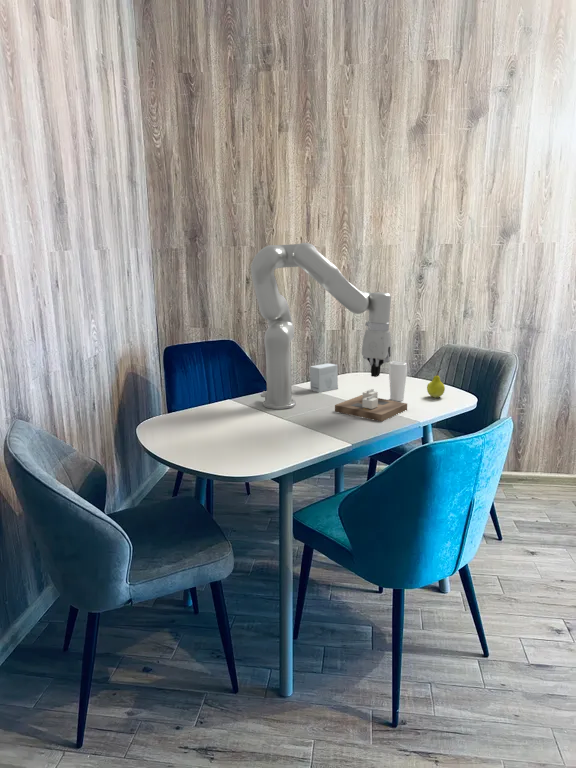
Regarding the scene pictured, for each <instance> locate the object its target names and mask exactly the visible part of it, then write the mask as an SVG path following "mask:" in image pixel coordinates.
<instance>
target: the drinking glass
mask: <svg viewBox="0 0 576 768" xmlns="http://www.w3.org/2000/svg"><path fill="white" fill-rule="evenodd" d="M388 372H389V373H388V375H389V376H388V378H389V379H388V380H389V400H391V401H396V402H402V401H404V399H405V392H406V391H405V389H406V383H407V374H408V373H407V372H408V364H407V362H406V361H400V360H394V361H390V362H389V366H388Z"/></svg>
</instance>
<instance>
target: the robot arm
mask: <svg viewBox="0 0 576 768" xmlns="http://www.w3.org/2000/svg"><path fill="white" fill-rule="evenodd" d="M250 267H251V268H250V273H251V274H250V275H251V278H252V279H251V280H252V283H253V287H254V293H255V297H256V301H257V304H258V309H259V313H260V315H261V317H262V318H263V319H264V320H267V324H268V327H267V329H266V331H265V333H264V350H265V366H266V367H265V368H266V370H265V372H266V391H265V390H263V391H262V392H261V394H260V397H262V398H264V400H263V402H262V406H264V408H267V409H273V410H285V409H291V408H293V407H295V406H296V400H295V399H292V396H293V395H292V394H293V393H292V352H291V342H292V341H293V339H294V337H295V327H294V323H293V318H292V315H291V311H290V307H289V303H288V301H287V299H286V297H284V295H282V294H280V291H279V287H278V283H277V279H276V276H275V271H276V269H281V268H282V269H284V268H298V267H299V268H300V269H302V271H304V272H305V273H306V274H307V275H309V276H310V277H311V278H312V279H313V280H315V282H317V283H318V284H319V285H320V286H321V287H322V288H323V289H324V290H325V291H327V293H329V295H331V296H332V297H333V298H334V299H335V300H336V301H338V303H340V304H341V305H342V306H343V307H345V308H346V309H347V310H348V311H350V313H352V314H355V315H360V314H363V313H364V312H366V311H368V321H367V322H365V326H366V327H367V329H365V331H364V335H363V340H362V348H361V355H362V357H363V359H364V360H366V361H368V362H369V366H370V373H371V374H370V376H371V377H374V378H376V377H377V378H378V377H379V376H380V374H381V366H383V364H386V363H390V362H391V359H390V357H391V354H392V334H391V331H390V319H391V318H390V317H391V316H390V315H391V306H392V305H391V304H392V303H391V302H392V297H391V296H392V295H391V294H390V293H388V292H384V291H383V292H382V291H380V292H379V291H378V292H377V291H376V292H371V291H370V292H369V291H364V290H359V289H358V288H357V287H356V286H355V285H353V284H352V283H351V282H349V280H347V278H346V277H345V276H344V275H343V273H342V272H341V270H340V269H339V268H338V267H337V265H335V264H334V263H332V262H331V261H330V260H329V259H327V258H326V257H325V255H323V254H322V253H320V251H318V249H317V247H316V246H315V245H314V244H312V243H310V242H302V243H296V244H295V243H294V244H270V245H266V246H264V247H263V248H262V249H260V250H258V252H257V253H256V254H255V255H254V257H253V260H252V262H251V266H250Z"/></svg>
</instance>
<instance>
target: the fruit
mask: <svg viewBox="0 0 576 768" xmlns="http://www.w3.org/2000/svg"><path fill="white" fill-rule="evenodd" d="M441 370H442V368H440V369H438V370H437V373H436V375H434V376H433V378H432V380H431V381H430V382H429V383H428V384H427V385H426V390H427V391H426V392H427V393H428V395H429V396H431V397H432V398H436V399H437V398H440V397H442V395H444V393H445V391H446V390H445V389H446V387H445V385H444V383H443V381H441V377H440V376H439V375H438V374H439V372H440V371H441Z"/></svg>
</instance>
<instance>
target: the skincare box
mask: <svg viewBox="0 0 576 768" xmlns="http://www.w3.org/2000/svg"><path fill="white" fill-rule="evenodd" d="M309 371H310V372H309V373H310V374H309V375H310V376H309V379H310V380H309V382H310V385H309V386H310V387H309V388H310V391H312V390H314V391H313V392H316V391H317V393H319V392H320V393H324V392H323V391H325V392H330V391H333V390H338V389H339V383H338V381H339V379H338V376H339V375H338V372H339V371H338V364H335V363H330V362H329V363H322V364H316V365H312V366H309Z"/></svg>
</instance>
